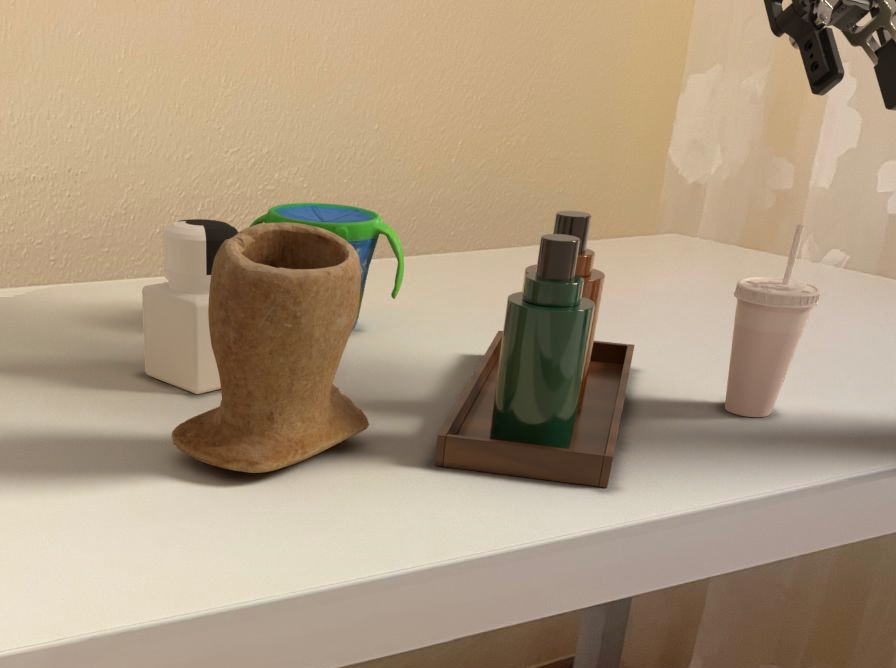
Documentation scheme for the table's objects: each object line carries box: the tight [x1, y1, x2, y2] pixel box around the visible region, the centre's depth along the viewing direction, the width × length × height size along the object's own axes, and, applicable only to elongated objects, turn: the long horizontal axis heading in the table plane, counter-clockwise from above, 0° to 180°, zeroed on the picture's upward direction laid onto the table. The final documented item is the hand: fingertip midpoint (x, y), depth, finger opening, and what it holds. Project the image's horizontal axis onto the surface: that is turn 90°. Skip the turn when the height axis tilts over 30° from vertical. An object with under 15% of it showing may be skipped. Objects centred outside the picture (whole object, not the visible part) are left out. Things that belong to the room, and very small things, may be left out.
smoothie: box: [724, 224, 822, 418], centre depth 95 cm, size 6×6×14 cm
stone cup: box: [171, 222, 370, 474], centre depth 82 cm, size 15×12×15 cm
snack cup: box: [248, 202, 405, 329], centre depth 113 cm, size 16×10×10 cm
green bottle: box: [489, 233, 595, 449], centre depth 84 cm, size 6×6×14 cm
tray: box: [434, 330, 635, 489], centre depth 96 cm, size 31×12×2 cm, turn 164°
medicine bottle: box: [141, 218, 240, 395], centre depth 97 cm, size 7×7×12 cm
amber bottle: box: [521, 210, 606, 413], centre depth 92 cm, size 6×6×14 cm
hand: (867, 95), depth 86 cm, fingers open, 8 cm apart
